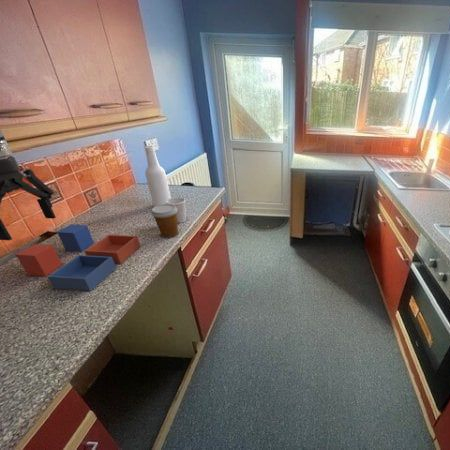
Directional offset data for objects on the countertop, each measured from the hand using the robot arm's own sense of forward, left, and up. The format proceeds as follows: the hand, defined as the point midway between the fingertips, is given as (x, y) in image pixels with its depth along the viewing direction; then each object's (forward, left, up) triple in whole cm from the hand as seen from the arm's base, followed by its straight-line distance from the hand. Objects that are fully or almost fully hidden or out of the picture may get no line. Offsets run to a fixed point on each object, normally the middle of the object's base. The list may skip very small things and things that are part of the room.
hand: (30, 227), depth 76 cm
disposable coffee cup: (+26, +26, -16) cm, 40 cm away
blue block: (-2, +13, -16) cm, 21 cm away
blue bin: (+14, -3, -16) cm, 21 cm away
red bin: (+14, +10, -16) cm, 24 cm away
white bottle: (+8, +54, -16) cm, 57 cm away
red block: (-2, -1, -16) cm, 16 cm away
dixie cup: (+25, +39, -16) cm, 49 cm away
